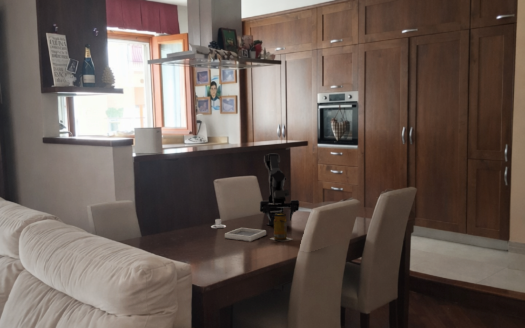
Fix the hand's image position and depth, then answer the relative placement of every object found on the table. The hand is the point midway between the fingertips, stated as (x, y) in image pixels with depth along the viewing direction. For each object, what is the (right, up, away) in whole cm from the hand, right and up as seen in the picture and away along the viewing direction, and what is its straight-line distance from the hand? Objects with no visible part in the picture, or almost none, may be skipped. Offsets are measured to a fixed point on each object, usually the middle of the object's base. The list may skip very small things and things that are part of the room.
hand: (280, 220), depth 240 cm
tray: (-17, -8, +6) cm, 20 cm away
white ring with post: (-34, -7, +28) cm, 45 cm away
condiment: (0, -9, 0) cm, 9 cm away
